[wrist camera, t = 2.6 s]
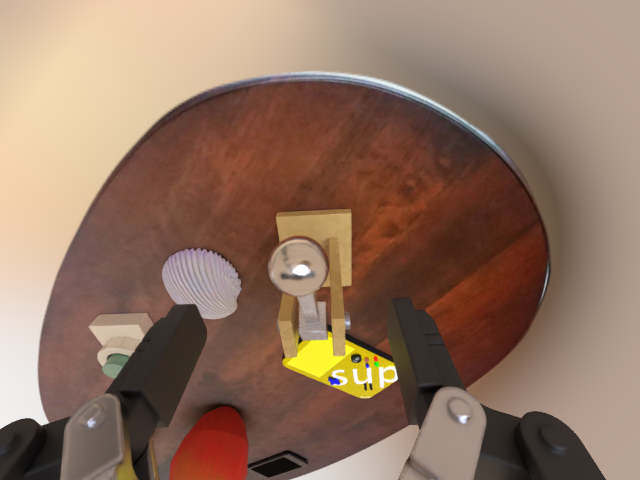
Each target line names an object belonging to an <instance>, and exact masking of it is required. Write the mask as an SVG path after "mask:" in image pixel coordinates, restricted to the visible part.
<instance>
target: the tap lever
mask: <svg viewBox="0 0 640 480" xmlns="http://www.w3.org/2000/svg"><path fill="white" fill-rule="evenodd" d="M268 272H269V276H270V278H271V281H272V282H273V284H274V285H275V287H276V288H277V289H278V290H280V291H281V292H282V293H284V294H286V295H289V296H292V297H297V299H298V302H299V328H298V332H299V334H300V336H301V338H302V340H303V341H306V340H328V322H327V307H326V302H318V301H317V296H316V291H318V290H319V289H320V288H321V287H322V286H323V284H324V283H325V281H326V279H327V277H328V274H329V259H328V255H327V253H326V251H325V249H324V248H323V247H322V246H321V244H320V243H318V242H317V241H316V240H314V239H312V238H310V237H307V236H291V237H288V238H286V239H284V240H282V241H281V242H280V243H278V244H277V245H276V246H275V248H274V249H273V251H272V253H271V254H270V257H269V262H268Z"/></svg>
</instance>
